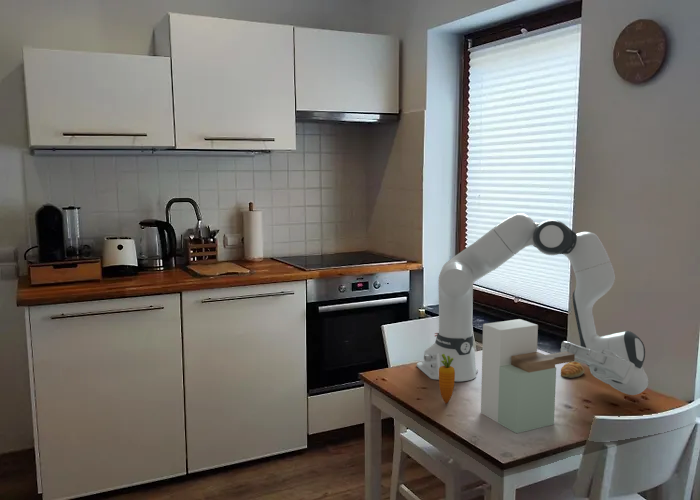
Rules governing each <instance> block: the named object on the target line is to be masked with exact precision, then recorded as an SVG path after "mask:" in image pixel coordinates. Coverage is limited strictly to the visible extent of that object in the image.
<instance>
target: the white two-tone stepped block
mask: <svg viewBox="0 0 700 500" xmlns="http://www.w3.org/2000/svg"><path fill="white" fill-rule="evenodd" d="M538 330H539V325H538V324H536V323H533V322H530V321H527V320H524V319H521V318H518V319H510V320H504V321H495V322H488V323H483V324H482V356H481V386H480V387H481V389H480V390H481V392H480V395H481V396H480V414H481V415H484V416H486V417H487V418H489V419H490V420H493V421H494V422H496V423H498V424H499V425H502V426H503V427H504V428H506V429H508V430H510V431H512V432H513V433H515V434H520V433H524V432H528V431H533V430H535V429H536V430H537V429H541V428H544V427H549V426H553V425H555V408H556V405H555V404H556V384H557V367H556V366H555V368H551V369H546V370H540V371H535V372H526V371H524V370H522V369H520V368H517V367H515V366H513V365H511V356H515V355H521V354H527V353H533V352H538V337H539V336H538V335H539V334H538V332H539V331H538Z"/></svg>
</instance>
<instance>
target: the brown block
mask: <svg viewBox="0 0 700 500" xmlns="http://www.w3.org/2000/svg"><path fill="white" fill-rule="evenodd" d="M575 361H576V360H575V354H573V353H570V352H567V351H565V352H561V351H559V352H555V353H548V354H543V353H542V352H539V351H537V352H533V353H527V354H521V355H515V356H511V365H513V366H515V367H517V368H520V369H522V370H524V371H526V372H535V371H540V370H546V369H551V368H555V367H556V366H557V365H560V364H568V363H569V362H575Z"/></svg>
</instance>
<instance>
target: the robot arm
mask: <svg viewBox="0 0 700 500" xmlns="http://www.w3.org/2000/svg"><path fill="white" fill-rule="evenodd" d="M529 246H533V247H535V248H536V249H537V250H538V251H539V252H541V254H544V255H547V256H556V255H557V256H558V255H564V256H565V257H566V258H567V259H568V260H569V263H570V265H571V267H572V270H573V272H574V276H575V281H576V282H575V289H574V290H573V292H572V307H573V311H574V317H575V321H576V326H577V331H578V338H579V345H578V344H575V343H572V342H569V341H566V340H563V341H562V342H561V345H560V346H561V348H560V351H559V352H565V351H567V352H570V353H573V354H575V360H574V361H576V362H578V363H583V364H585V365H586V366H587V367H589V371H590V374H591V375H592V376H593V377H594V378H595V379H598V380H600V381H602V382H603V383H604V384H606V385H610V386H611V388H613V389H615V390H616V391H619V392H621V393H623V394H626V395H631V396H635V395H639V394H641V393H643V392H644V391H645V390H646V389H647V388H648V385H649V378H648V375H647V373H646V372H645V370H644V367H643V365H644V362H645V357H646V347H645V344H644V342H643V341H642V340H641V338H640V337H639V336H638V335H637V334H636V333H634V332H632V331H629V330H626V331H621V332H615V333H612V334H611V333H610V334H606V335H602V336H599V335H598V333H597V328H596V324H595V320H594V319H595V318H594V314H593V308H594V305H595V304H596V302H598V300H599V299H600V298H602V297H604V296H605V295H606V294H607V293H608V292H609V291H610V290H611V289H612V287H613V286H614V283H615V281H616V275H615V273H616V272H615V270H614V267H613V264H612V262H611V259H610V257H609V254H608V252H607V249H606V248H605V246H604V244H603V242H602V241H601V240H600V238H599V236H598V235H597V234H596V233H594V232H592V231H591V232H590V231H581V232H578V233H576V232H575V231H573V230H572V229H571V228H570V227H569V226H568V225H566V224H565V223H564V222H562V221H560V220H557V219H547V220H544V221H542V222H539V223H538V222H535V221H534V220H533V219H532V217H530V216H529V215H527V214H525V213H516V214H513V215H511V216H510V217H508V218H506V219H504V220H502V221H501V222H499V223H498V224H496V225H495V226H494V227H493V228H491V229H490V230H489V231H487V232H486V233H484V235H482V236H481V237H479V239H477V240H475V242H473V243H472V244H470V245H469V246H467V247H466V248H464V249H463V250H462V251H460V252H459V253H457V254H456V255H454V256H453V257H452V258H450V259H448V261H446V262H445V263H444V265H443V266H442V268H441V271H440V272H439V276H438V332H435V333H434V337H436V339H435V342H434V343H433V344H431V346H428V348H425V350H424V353H423V360H421V361H418V362H417V363H416V367H417V368H418V369H419V370H420V371H422V373H424V374H425V375H426V376H427V377H428V378H429V379H431V380H437V381H439V368H440V367H441V366H445V365H444V364H443V363H442V362H441V360H442V361H443V360H444V359H443V357H442V354H445V356H446V359H447V362H448V358H447V356H450V359H451V358H453V361H452V362H451V364H450V366H451V367H453V368H454V370H455V381H454V382H467V381H471V380H473V379H476V377H477V373H478V372H479V368H478V367H476V366H477V363H476V350H475V348H474V347H473V346H474V340H475V339H474V334H473V310H474V309H473V305H474V304H473V301H474V298H473V297H474V283H475V282H477V281H478V280H480V279H481V278H483V277H485V276H486V275H489V274H490V273H491V272H493V271H495V270H496V269H498V268H499V267H500V266H502V265H503V264H505V263H506V262H507V261H509V260H510V259H511V258H513V257H514V256H515V255H516V254H517V253H519V252H520V251H522V250H523V249H525V248H526V247H529ZM444 363H445V362H444Z"/></svg>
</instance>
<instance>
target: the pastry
mask: <svg viewBox="0 0 700 500" xmlns="http://www.w3.org/2000/svg"><path fill="white" fill-rule="evenodd" d="M584 373H585V369H584V367H583V366H582V364H581V362H579V361H572V362H567V363H564V365H563V366H562V367H561V368H560V376H561V377H564V378H569V379H573V378H575V379H576V378H579V377H580V376H583V374H584Z"/></svg>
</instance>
